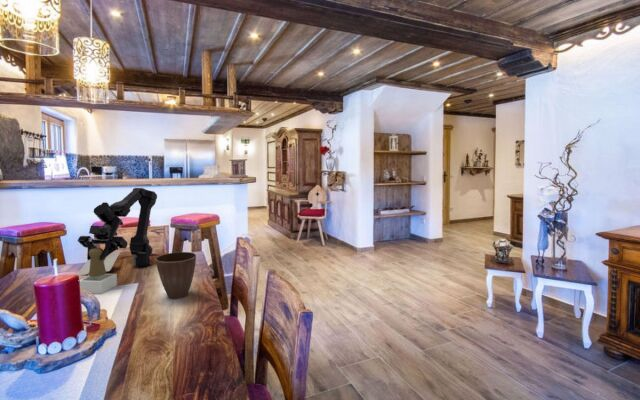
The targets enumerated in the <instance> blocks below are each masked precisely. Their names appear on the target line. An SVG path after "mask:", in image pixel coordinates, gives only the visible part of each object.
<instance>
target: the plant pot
mask: <svg viewBox="0 0 640 400" xmlns="http://www.w3.org/2000/svg"><path fill="white" fill-rule="evenodd" d="M196 260H197V254H196V253H194V252H188V251H178V252H176V251H175V252H170V253H164V254H160V255H159V256H157V257H156V258H155V264H156V268H157V273H158V276H159V278H160V281H161V284H162V287H163V290H164V292H165V293H166V295H167V297H168V298H169V299H172V300H176V299H177V300H179V299H182V298H185V297H187V296H188V295H189V292H190V291H191V290H190V289H191V286H192V283H193V278H194V275H195V271H196V270H195V269H196V263H197V261H196Z"/></svg>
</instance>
